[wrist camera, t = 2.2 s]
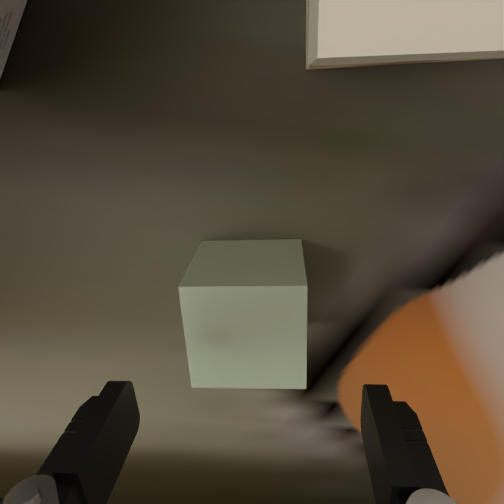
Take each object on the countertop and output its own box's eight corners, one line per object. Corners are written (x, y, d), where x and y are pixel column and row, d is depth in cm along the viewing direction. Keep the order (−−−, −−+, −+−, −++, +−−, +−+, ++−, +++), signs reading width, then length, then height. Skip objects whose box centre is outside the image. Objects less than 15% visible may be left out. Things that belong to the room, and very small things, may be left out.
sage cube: (210, 323, 24) (191, 387, 19) (201, 240, 22) (178, 286, 17) (300, 323, 23) (306, 389, 18) (301, 238, 21) (307, 285, 16)
